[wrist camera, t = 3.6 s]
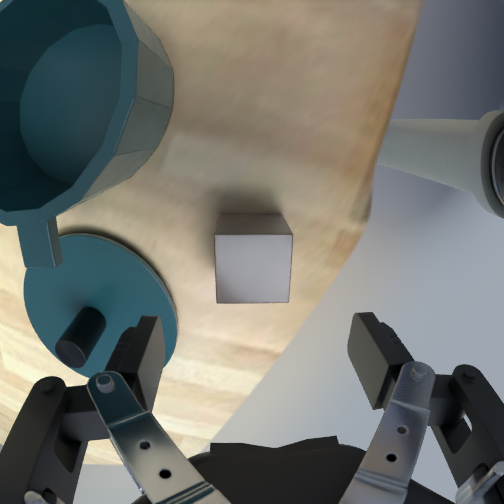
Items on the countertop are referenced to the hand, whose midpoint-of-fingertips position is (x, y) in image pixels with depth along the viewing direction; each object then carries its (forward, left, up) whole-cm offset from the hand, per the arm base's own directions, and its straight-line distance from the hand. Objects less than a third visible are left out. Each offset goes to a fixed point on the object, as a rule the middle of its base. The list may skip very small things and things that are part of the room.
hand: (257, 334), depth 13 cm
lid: (+13, +6, -11) cm, 18 cm away
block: (0, 0, -11) cm, 11 cm away
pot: (+12, -11, -11) cm, 20 cm away
